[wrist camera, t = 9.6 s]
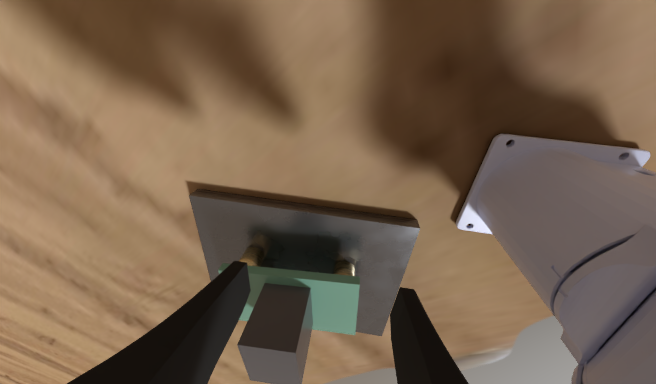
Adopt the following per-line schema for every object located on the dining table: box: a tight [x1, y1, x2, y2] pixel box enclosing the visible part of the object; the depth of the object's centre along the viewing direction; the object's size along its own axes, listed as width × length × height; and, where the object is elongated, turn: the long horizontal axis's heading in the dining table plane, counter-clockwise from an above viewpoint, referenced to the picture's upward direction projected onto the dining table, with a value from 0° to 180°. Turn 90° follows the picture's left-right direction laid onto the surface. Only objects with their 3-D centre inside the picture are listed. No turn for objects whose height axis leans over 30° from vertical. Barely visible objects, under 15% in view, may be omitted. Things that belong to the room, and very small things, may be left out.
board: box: [218, 263, 360, 384], centre depth 19 cm, size 12×7×6 cm, turn 90°
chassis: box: [189, 189, 420, 336], centre depth 23 cm, size 20×16×4 cm
